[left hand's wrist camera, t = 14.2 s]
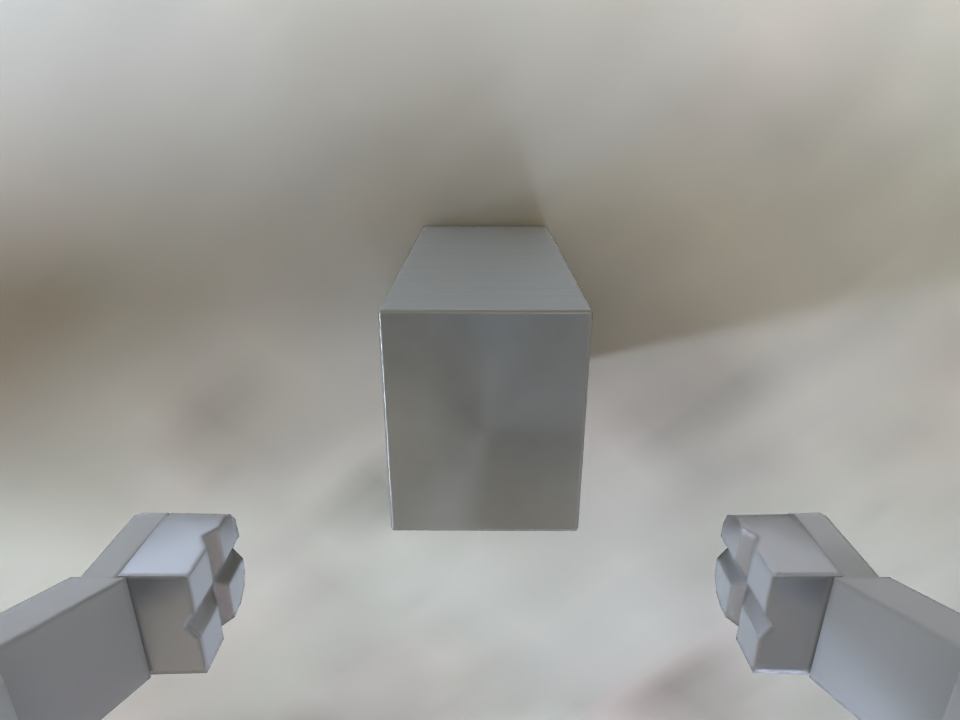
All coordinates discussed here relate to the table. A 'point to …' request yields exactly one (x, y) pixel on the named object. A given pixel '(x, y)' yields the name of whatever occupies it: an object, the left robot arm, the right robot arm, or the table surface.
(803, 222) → the table surface
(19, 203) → the table surface
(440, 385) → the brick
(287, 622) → the table surface
